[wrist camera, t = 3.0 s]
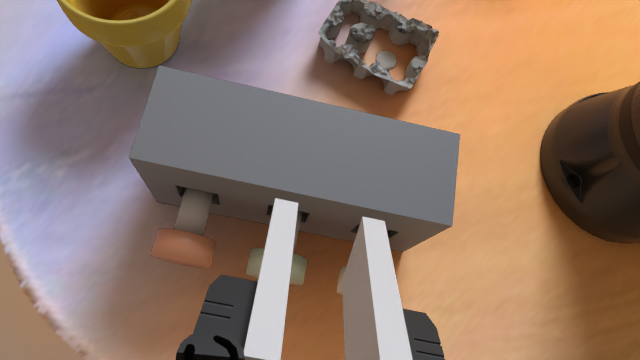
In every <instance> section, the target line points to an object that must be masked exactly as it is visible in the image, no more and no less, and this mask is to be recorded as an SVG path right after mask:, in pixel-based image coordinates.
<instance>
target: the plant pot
mask: <svg viewBox="0 0 640 360" xmlns="http://www.w3.org/2000/svg"><path fill="white" fill-rule="evenodd" d="M57 1H58V3H59V5H60V6H61V8H62V10H63V11H64V13H65V14H66V16H67V17H68V18H69V20H70V21H71V22H72V24H73V25H74V26H75V27H76V28H77V29H78V30H79V31H81V32H82V33H83V34H85V35H86V36H88V37H89V38H91V39H93V40H95V41H98V42H100V43H101V44H102V45H103V46H104V47H105V48H106V49H107V50H108V51H109V52H110V53H111V54H112V55H113V56H114V57H115V58H116V59H117V60H119V61H120V62H122V63H123V64H125V65H128V66H130V67H134V68H150V67H154V66H157V65H159V64H161V63H163V62H165V61H166V60H168V59H169V58H170V57H171V56H172V55H173V53H174V52H175V51H176V49H177V47H178V43H179V39H180V32H181V26H182V22H183V21H184V19H185V18H186V16H187V14H188V12H189V9H190V6H191V1H192V0H57Z"/></svg>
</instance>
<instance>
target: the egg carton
mask: <svg viewBox="0 0 640 360" xmlns="http://www.w3.org/2000/svg"><path fill="white" fill-rule="evenodd" d="M351 12H353V13H356V14H357V15H359V16H360V23H358V24H355V25H353V26H352V27H351V29H350V32H349V35H348V38H347V41H346V44H344V45H341V46H340V47H338V48H337V47H336V43H335V41H334V40H327V39H332V38H335V37H336V36H337V35H338V34H339V31H340V27H341V24H342V22H343V20H344V17H343V16H344V15H348V14H350V13H351ZM378 28H381V29H384V30H387V31H389V32H388V37H389V39H390V40H391V42H392V43H394V44H396V45H405V44H407V43H408V42H410V43H412V44H414V45H415V46H416V47H417V53H418V55H419V56H416V57H414V58H413V59H412V60H411V62H410V63H409V65H408V66H407V68H406V70H405V78H406V79H404V80H402V81H395V80H394V79H393V78H392V77H390V73H389V69H393V68H394V67H395V66H396V64H397V59H396V56H395V55H394V54H393V53H392V52H390V51H387V50H383V51H380V52H378V53H377V55H376V63H372V64H371V65H370V67H369V68H368V67H367V66H366V64H365V63H363V62H362V59H361V58H359V56H360V54H363V53H365V52H366V51H367V49H368V47H369V45H370V42H371V40H372V38H373V36H374V33H375V30H376V29H378ZM438 33H439V31H437V30H436V29H433V28H432V26H430V25H428V24H425V23H423V22H422V21H419V20H417V19H414V18H412V19H410V20H409V19H406V18H405V17H404V16H402V15H401V14H400V13H398V12H396V13H394V12H392V11H390V10H388V9H385V8H384V7H382V6H381V5H380V4H377V3H373V2H370V1H365V0H339V2H338V3H337V4H336V6H335V7H334V9H333V10H332V12H331V13H330V15H329V16H328V18H327V19H326V21H325V22H324V24H323V26H322V27H321V29H320V31H319V34H320V36H321V38H320V42H319V46H321V48H322V49H323V50H324V54H325V55H324V60H326V61H327V62H329V63H334V62H335V61H336V60H339V59H344V60H347V61H349V62H350V63H351V64H352V65H353V67H354V74H353V75H354V76H356V77H358V78H359V79H363V78H365V77H366V76H369V75H374V76H377V77H379V78H380V79H381V80H382V81H383V83H384V90H383V91H384V92H386V93H388V94H390V95H393V94H394V93H395V92H397V91H401V90H402V91H407V90H409V88H410V89H411V88H412V86H413V84H414V82H415V80H416V79H417V77H418V76H419V74H420V71H421V70H423V68H424V67H425V65H426V63H427V61H428V56H429V53H430V50H431V49H432V47H433V45H434V43H435V41H436V39H437V37H438ZM359 62H362V64H360V63H359Z"/></svg>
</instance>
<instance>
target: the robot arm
mask: <svg viewBox="0 0 640 360" xmlns="http://www.w3.org/2000/svg"><path fill="white" fill-rule="evenodd" d="M541 164H542V170H543V174H544V178H545V181H546V183H547V186H548V188H549V190H550V192H551V194H552V196H553V198H554V199H555V201H556V202H557V204H558V205H559V206H560V208H561V209H562V210H563V211H564V213H565V214H566V215H567V216H568V217H569V218H570V219H571V220H572V221H574V222H575V223H576V224H577V225H578V226H580V227H581V228H583V229H584V230H586V231H587V232H589V233H591V234H593V235H595V236H597V237H600V238H602V239H605V240H609V241H613V242H619V243H633V242H639V241H640V82H638V83H637V84H635V85H633V86H629V87H625V88H622V89H619V90H616V91H612V92H607V93H598V94H594V95H590V96H587V97H585V98H582V99H580V100H578V101H576V102H575V103H573V104H572V105H570V106H569V107H567V108H566V109H564V110H563V111H562V112H560V113H559V114H558V115H557V116H556V117H555V118H554V119H553V120H552V121H551V123H550V124H549V126H548V128H547V130H546V132H545V134H544V137H543V141H542V146H541ZM297 211H298V203H296V202H291V201H287V200H282V199H277V198H275V202H274V206H273V211H272V216H271V220H270V225H269V229H268V234H267V239H266V243H265V248H264V252H263V257H262V262H261V266H260V271H259V276H258V281H257V282H256V281H251V280H246V279H241V278H236V277H230V276H225V275H221V276H220V277H218V278H217V279H216V280H215V281H214V282H213V283H212V284H211V285H210V286H209V289H208V292H207V294H206V297H205V301H204V303H203V306H202V309H201V312H200V315H199V318H198V321H197V324H196V326H195V329H194V332H193V334H192V335H190V336H189V337H188V338H186V339H185V340H184V341H183V342H182V343H181V345H180V347H179V349H178V351H177V354H176V360H281V352H282V343H283V334H284V325H285V317H286V308H287V299H288V290H289V281H290V273H291V264H292V255H293V246H294V237H295V229H296V220H297ZM342 299H343V324H344V349H345V360H445V359H444V353H443V350H442V346H440V339H439V336H438V332H437V328H436V327H435V325H434V324H433V323H432V321H431V320H430V319H429V317H428V316H427V314H426V313H422V312H417V311H412V310H407V309H402V304H401V299H400V294H399V289H398V284H397V279H396V274H395V269H394V264H393V259H392V254H391V249H390V244H389V239H388V235H387V230H386V225H385V221H382V220H377V219H373V218H368V217H363V216H362V219H361V222H360V226H359V229H358V232H357V235H356V238H355V241H354V245H353V248H352V251H351V254H350V257H349V261H348V264H347V267H346V270H345V273H344V276H343V280H342Z"/></svg>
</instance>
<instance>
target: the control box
mask: <svg viewBox="0 0 640 360" xmlns="http://www.w3.org/2000/svg"><path fill="white" fill-rule="evenodd" d="M459 141H460V134H457V133H452V132H448V131H444V130H439V129H435V128H431V127H426V126H422V125H418V124H413V123H409V122H404V121H400V120H396V119H391V118H387V117H383V116H378V115H374V114H370V113H365V112H361V111H357V110H352V109H348V108H343V107H339V106H335V105H330V104H326V103H322V102H317V101H313V100H309V99H304V98H300V97H295V96H291V95H287V94H282V93H278V92H274V91H269V90H265V89H261V88H256V87H252V86H247V85H243V84H239V83H234V82H230V81H226V80H221V79H217V78H213V77H208V76H204V75H199V74H195V73H191V72H186V71H182V70H178V69H173V68H169V67H165V66H160V65H159V67H158V70H157V73H156V76H155V79H154V82H153V85H152V88H151V91H150V94H149V97H148V100H147V103H146V106H145V110H144V113H143V116H142V119H141V122H140V125H139V128H138V131H137V134H136V137H135V140H134V143H133V146H132V149H131V152H130V155H129V159H130V160H131V162H132V163H133V165H134V166H135V168H136V170H137V171H138V173H139V174H140V176H141V177H142V179H143V180H144V182H145V184H146V185H147V187H148V188H149V190H150V191H151V193H152V194H153V196H154V198H155V199H156V201H157V202H161V203H166V204H170V205H175V206H181V202H182V198H183V195H184V191H185V188H191V189H196V190H200V191H205V192H210V193H214V196H213V200H212V204H211V208H210V212H209V213H214V214H219V215H224V216H229V217H234V218H239V219H244V220H249V221H253V222H258V223H263V224H268V225H270V220H271V216H272V211H273V206H274V202H275V198H277V199H282V200H287V201H291V202H296V203H298V211H301V212H302V216H301V221H300V227H299V231H302V232H307V233H312V234H317V235H322V236H327V237H332V238H336V239H341V240H346V241H351V242H354V241H355V238H356V235H357V232H358V229H359V226H360V222H361V219H362V216H363V217H368V218H373V219H377V220H382V221H385V225H386V229H388V239H389V244H390V249H391V250H395V251H400V252H404V251H406V250H407V249H409V248H411V247H413V246H415V245H417V244H419V243H421V242H423V241H425V240H426V239H428V238H430V237H432V236H434V235H436V234H438V233H440V232H442V231H444V230H446V229H447V228H449V227H451V226H452V223H453V211H454V199H455V188H456V176H457V164H458V152H459Z"/></svg>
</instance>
